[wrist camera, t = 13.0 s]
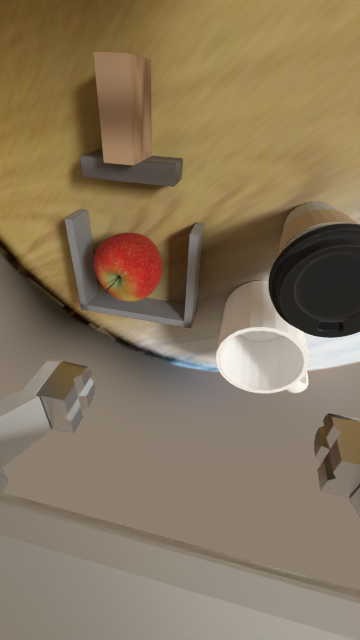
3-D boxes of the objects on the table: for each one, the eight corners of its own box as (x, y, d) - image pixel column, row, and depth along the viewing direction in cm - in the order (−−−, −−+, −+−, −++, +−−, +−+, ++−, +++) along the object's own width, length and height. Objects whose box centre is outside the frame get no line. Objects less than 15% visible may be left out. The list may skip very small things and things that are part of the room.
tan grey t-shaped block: (86, 57, 29) (53, 50, 25) (187, 61, 28) (172, 54, 23) (98, 170, 35) (73, 181, 31) (181, 178, 34) (169, 191, 29)
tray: (80, 209, 39) (64, 219, 36) (204, 223, 36) (198, 235, 33) (93, 295, 47) (81, 309, 43) (196, 311, 44) (190, 328, 41)
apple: (181, 266, 40) (162, 307, 33) (133, 285, 44) (105, 327, 36) (150, 210, 37) (120, 241, 29) (101, 236, 40) (62, 270, 33)
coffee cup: (288, 278, 38) (300, 359, 26) (251, 214, 35) (246, 275, 23) (370, 240, 33) (429, 318, 22) (337, 162, 30) (386, 204, 18)
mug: (209, 309, 44) (197, 358, 35) (263, 264, 38) (263, 310, 30) (270, 359, 47) (271, 415, 38) (328, 324, 41) (344, 381, 33)
